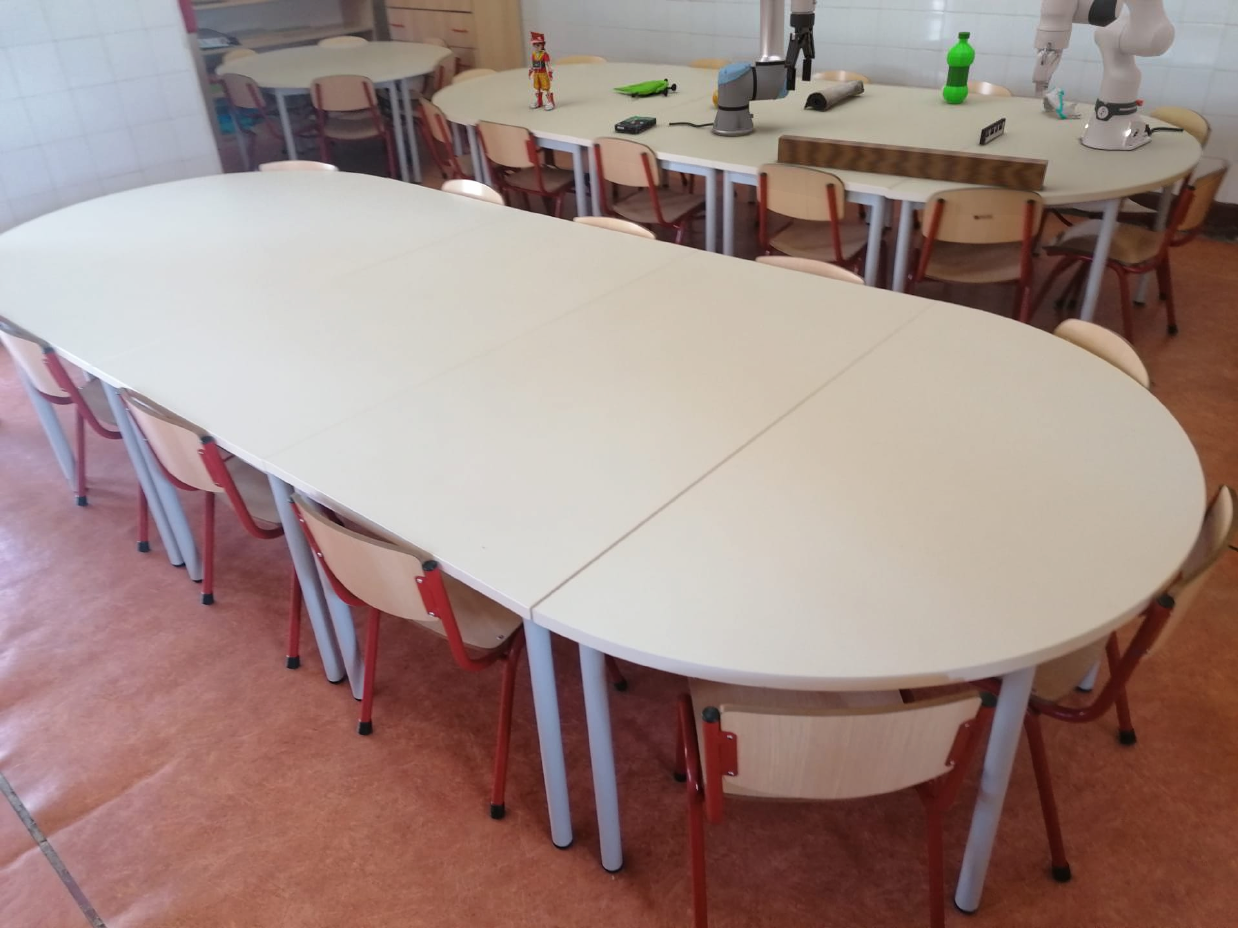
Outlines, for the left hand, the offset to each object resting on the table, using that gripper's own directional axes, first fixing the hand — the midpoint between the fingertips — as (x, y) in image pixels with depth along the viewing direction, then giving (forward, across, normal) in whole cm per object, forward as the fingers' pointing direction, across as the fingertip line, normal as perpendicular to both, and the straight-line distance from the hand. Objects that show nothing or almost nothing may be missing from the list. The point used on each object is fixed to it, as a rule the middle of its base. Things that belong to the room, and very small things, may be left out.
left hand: (798, 85), depth 288 cm
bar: (+24, 0, -36) cm, 44 cm away
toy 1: (+24, +36, +128) cm, 135 cm away
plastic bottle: (+24, +96, -29) cm, 103 cm away
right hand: (-2, 0, -72) cm, 73 cm away
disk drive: (+24, +19, +72) cm, 79 cm away
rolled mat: (+24, +81, +14) cm, 86 cm away
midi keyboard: (+24, +48, -54) cm, 76 cm away
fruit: (+24, +60, +54) cm, 85 cm away
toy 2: (+24, +74, +101) cm, 127 cm away
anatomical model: (+24, +88, -69) cm, 114 cm away
